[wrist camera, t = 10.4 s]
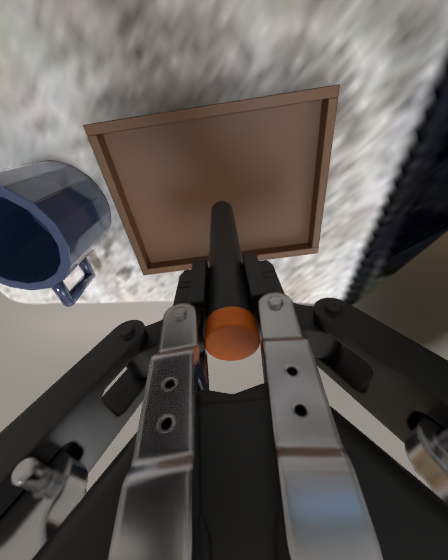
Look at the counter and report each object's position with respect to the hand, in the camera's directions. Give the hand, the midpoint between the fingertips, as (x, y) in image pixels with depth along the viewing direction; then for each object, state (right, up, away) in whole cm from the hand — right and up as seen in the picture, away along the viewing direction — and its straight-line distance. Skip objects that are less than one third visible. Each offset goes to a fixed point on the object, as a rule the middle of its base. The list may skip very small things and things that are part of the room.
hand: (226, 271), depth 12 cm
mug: (-17, +6, +14) cm, 23 cm away
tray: (0, +9, +12) cm, 15 cm away
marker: (0, +6, +8) cm, 10 cm away
